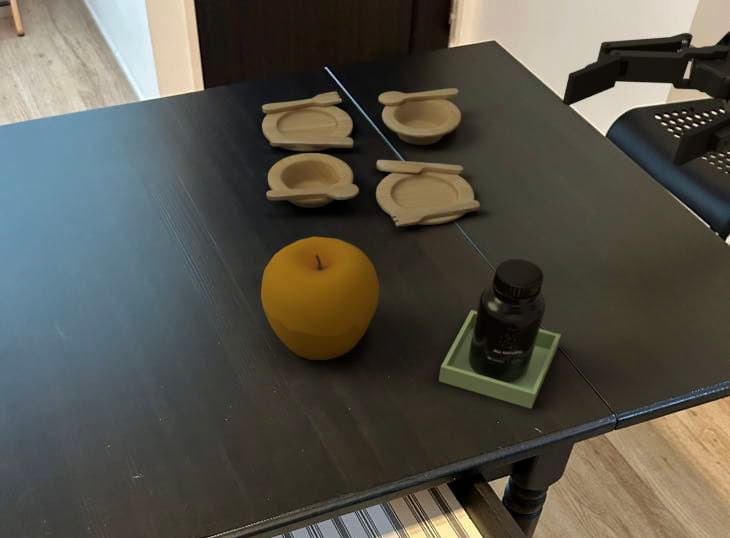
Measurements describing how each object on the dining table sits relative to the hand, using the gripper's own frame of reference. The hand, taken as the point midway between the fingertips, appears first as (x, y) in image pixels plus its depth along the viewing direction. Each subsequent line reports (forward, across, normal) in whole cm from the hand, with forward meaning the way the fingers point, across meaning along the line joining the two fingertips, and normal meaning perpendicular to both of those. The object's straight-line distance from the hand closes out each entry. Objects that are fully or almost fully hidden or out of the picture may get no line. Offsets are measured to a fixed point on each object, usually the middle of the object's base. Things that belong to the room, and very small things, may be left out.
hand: (622, 118), depth 76 cm
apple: (+23, +15, -25) cm, 37 cm away
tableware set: (-4, +42, -25) cm, 49 cm away
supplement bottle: (+10, 0, -25) cm, 26 cm away
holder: (+10, 0, -25) cm, 27 cm away
